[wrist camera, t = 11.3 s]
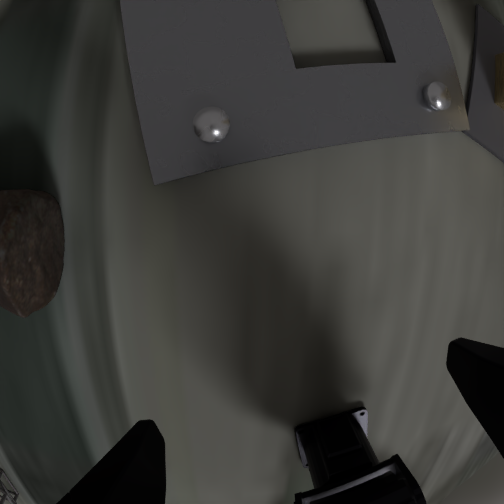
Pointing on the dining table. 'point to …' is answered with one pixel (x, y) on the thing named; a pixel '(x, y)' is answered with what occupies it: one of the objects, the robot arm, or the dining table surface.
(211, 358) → the dining table surface
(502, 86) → the stepped brass square peg
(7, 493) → the geometric lantern
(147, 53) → the square hole plate
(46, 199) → the dark brown bone
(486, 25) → the rubber mat
